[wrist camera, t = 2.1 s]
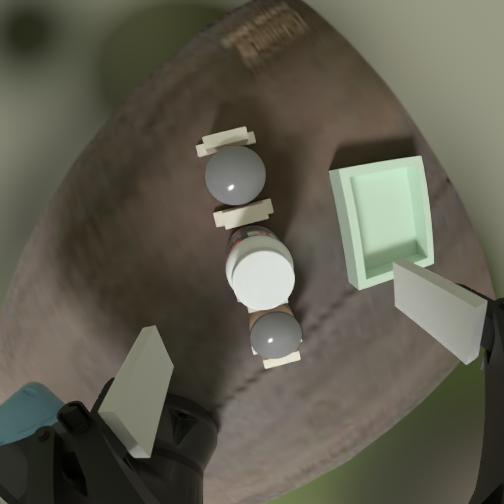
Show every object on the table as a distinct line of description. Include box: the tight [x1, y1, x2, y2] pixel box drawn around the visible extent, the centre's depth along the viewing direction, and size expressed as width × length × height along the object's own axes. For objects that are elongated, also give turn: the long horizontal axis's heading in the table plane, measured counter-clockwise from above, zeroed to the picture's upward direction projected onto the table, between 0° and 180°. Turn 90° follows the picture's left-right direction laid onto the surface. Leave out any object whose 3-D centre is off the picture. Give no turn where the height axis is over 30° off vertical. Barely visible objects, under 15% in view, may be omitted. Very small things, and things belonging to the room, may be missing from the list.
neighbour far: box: [248, 303, 302, 359], centre depth 30 cm, size 5×5×5 cm
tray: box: [329, 156, 434, 290], centre depth 29 cm, size 11×13×3 cm
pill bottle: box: [226, 225, 295, 310], centre depth 25 cm, size 6×6×10 cm
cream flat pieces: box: [196, 126, 302, 369], centre depth 28 cm, size 6×24×4 cm, turn 14°
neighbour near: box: [205, 146, 266, 205], centre depth 26 cm, size 5×5×5 cm
